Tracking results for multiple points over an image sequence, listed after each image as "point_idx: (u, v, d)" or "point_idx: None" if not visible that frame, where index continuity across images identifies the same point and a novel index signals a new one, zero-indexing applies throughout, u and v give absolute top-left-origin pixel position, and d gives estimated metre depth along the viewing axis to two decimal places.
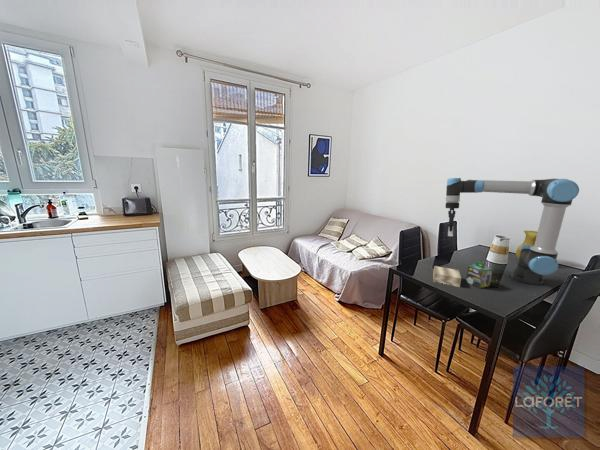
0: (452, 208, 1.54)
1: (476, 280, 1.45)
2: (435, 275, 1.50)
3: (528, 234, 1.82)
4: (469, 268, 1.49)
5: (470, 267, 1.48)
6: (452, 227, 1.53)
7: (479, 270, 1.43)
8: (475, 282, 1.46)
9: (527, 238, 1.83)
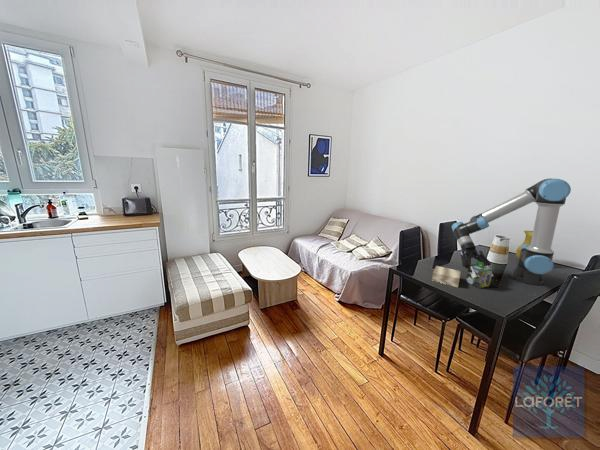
0: (464, 249, 1.54)
1: (476, 280, 1.45)
2: (433, 274, 1.51)
3: (528, 234, 1.82)
4: None
5: None
6: (471, 268, 1.47)
7: (479, 270, 1.43)
8: (474, 282, 1.46)
9: (527, 238, 1.83)
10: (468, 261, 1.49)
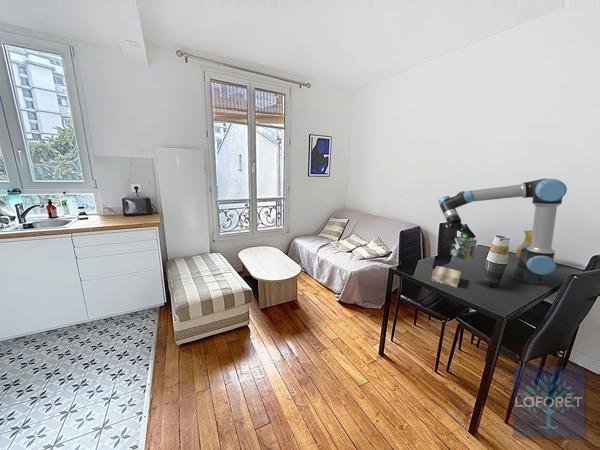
0: (449, 222, 1.54)
1: (460, 251, 1.45)
2: (433, 274, 1.52)
3: (528, 234, 1.82)
4: None
5: None
6: (455, 239, 1.47)
7: (463, 241, 1.43)
8: (458, 254, 1.46)
9: (527, 238, 1.83)
10: (453, 233, 1.49)
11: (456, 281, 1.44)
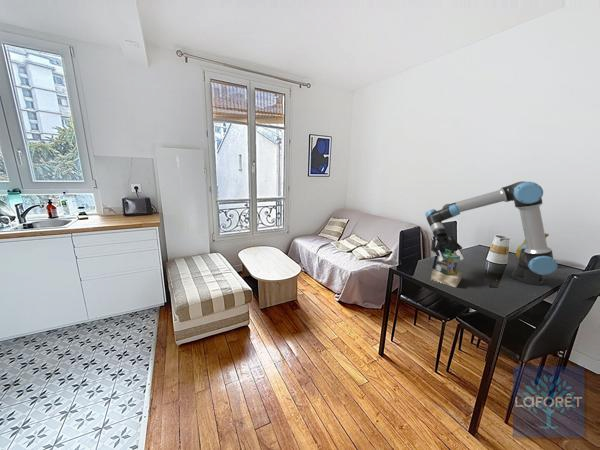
0: (435, 235, 1.57)
1: (443, 267, 1.49)
2: (432, 274, 1.52)
3: None
4: None
5: None
6: (438, 251, 1.50)
7: (446, 257, 1.47)
8: (442, 269, 1.50)
9: None
10: (437, 245, 1.52)
11: (455, 281, 1.44)
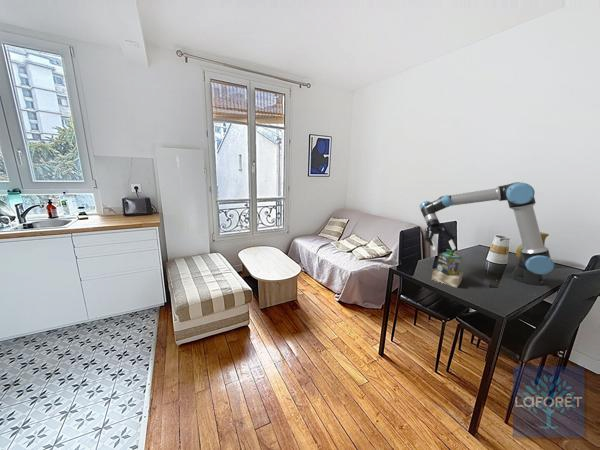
0: (429, 226, 1.62)
1: (444, 267, 1.49)
2: (433, 274, 1.52)
3: None
4: (439, 256, 1.53)
5: (440, 255, 1.53)
6: (432, 241, 1.55)
7: (447, 257, 1.47)
8: (443, 269, 1.50)
9: None
10: (430, 235, 1.57)
11: (456, 281, 1.44)
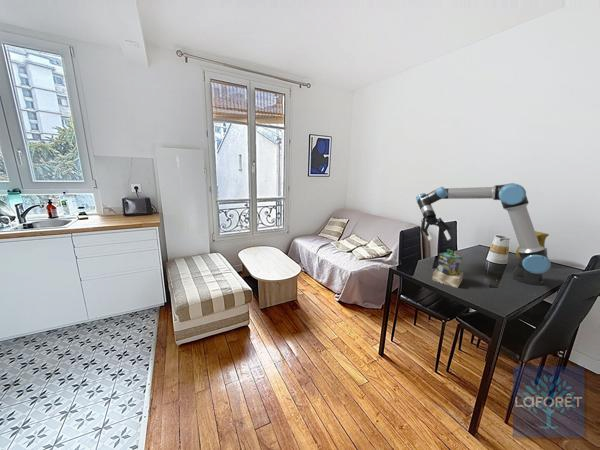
0: (425, 217, 1.67)
1: (445, 267, 1.49)
2: (434, 274, 1.52)
3: None
4: (440, 256, 1.53)
5: (441, 255, 1.52)
6: (427, 231, 1.60)
7: (447, 257, 1.47)
8: (444, 270, 1.50)
9: None
10: (426, 226, 1.62)
11: (457, 282, 1.44)
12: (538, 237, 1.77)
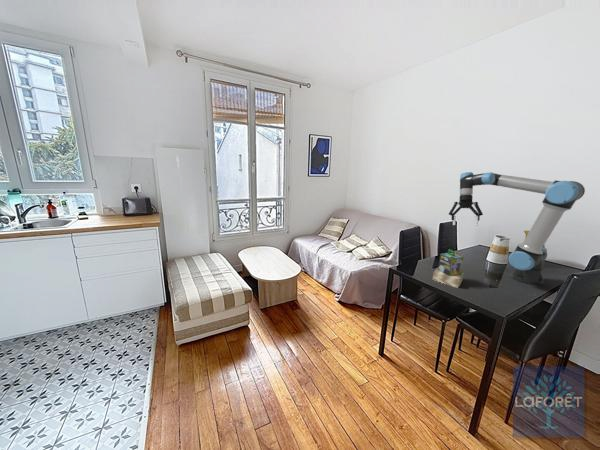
0: (459, 200, 1.70)
1: (446, 267, 1.49)
2: (434, 274, 1.52)
3: None
4: (441, 256, 1.53)
5: (442, 255, 1.52)
6: (454, 216, 1.70)
7: (448, 258, 1.47)
8: (445, 270, 1.50)
9: None
10: (455, 211, 1.70)
11: (457, 282, 1.44)
12: None
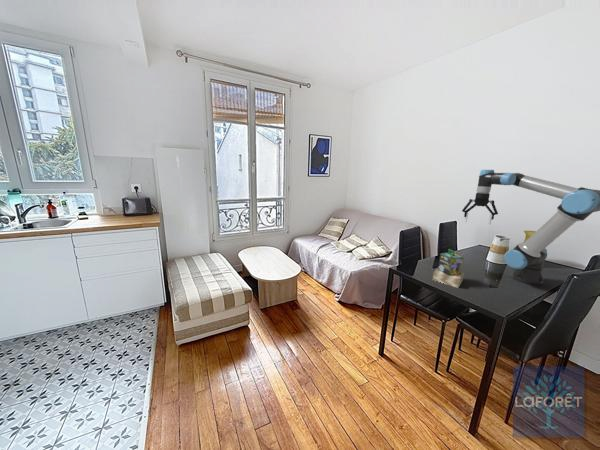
0: (475, 197, 1.68)
1: (446, 267, 1.49)
2: (434, 274, 1.52)
3: (528, 234, 1.82)
4: (441, 256, 1.53)
5: (442, 255, 1.52)
6: (466, 214, 1.71)
7: (448, 257, 1.47)
8: (445, 270, 1.50)
9: (527, 238, 1.83)
10: (469, 208, 1.70)
11: (457, 282, 1.44)
12: None
